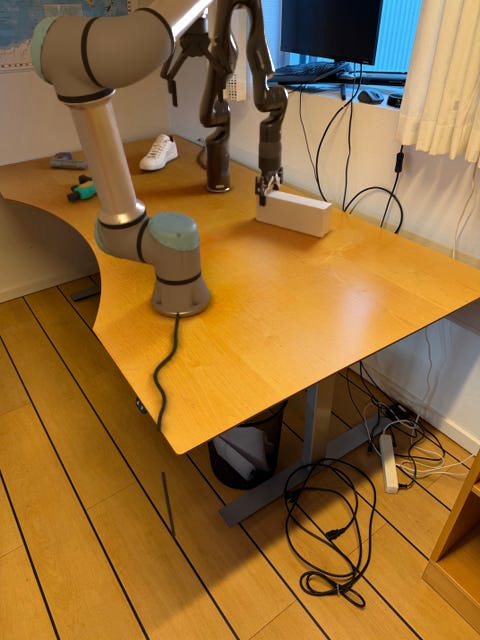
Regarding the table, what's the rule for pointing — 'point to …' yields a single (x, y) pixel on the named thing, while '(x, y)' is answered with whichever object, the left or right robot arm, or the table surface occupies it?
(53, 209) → the table surface
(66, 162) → the toy gun
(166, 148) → the sneaker
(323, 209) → the box
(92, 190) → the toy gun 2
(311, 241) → the table surface
